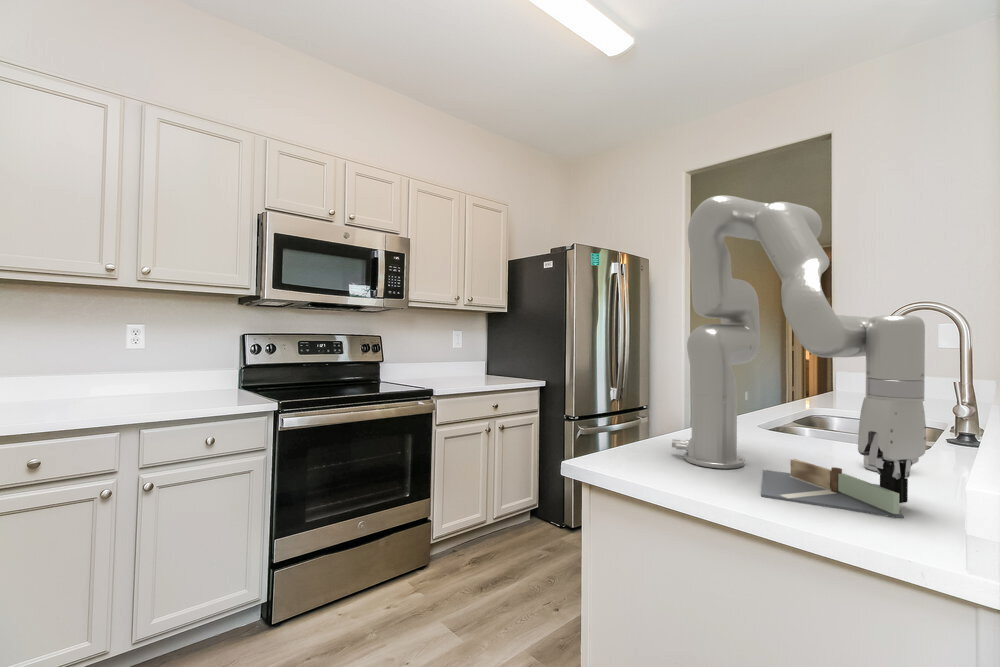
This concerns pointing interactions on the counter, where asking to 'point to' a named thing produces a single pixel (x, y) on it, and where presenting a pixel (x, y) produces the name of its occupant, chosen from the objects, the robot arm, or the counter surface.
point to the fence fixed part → (816, 474)
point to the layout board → (813, 494)
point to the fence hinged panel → (869, 493)
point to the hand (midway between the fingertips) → (893, 500)
